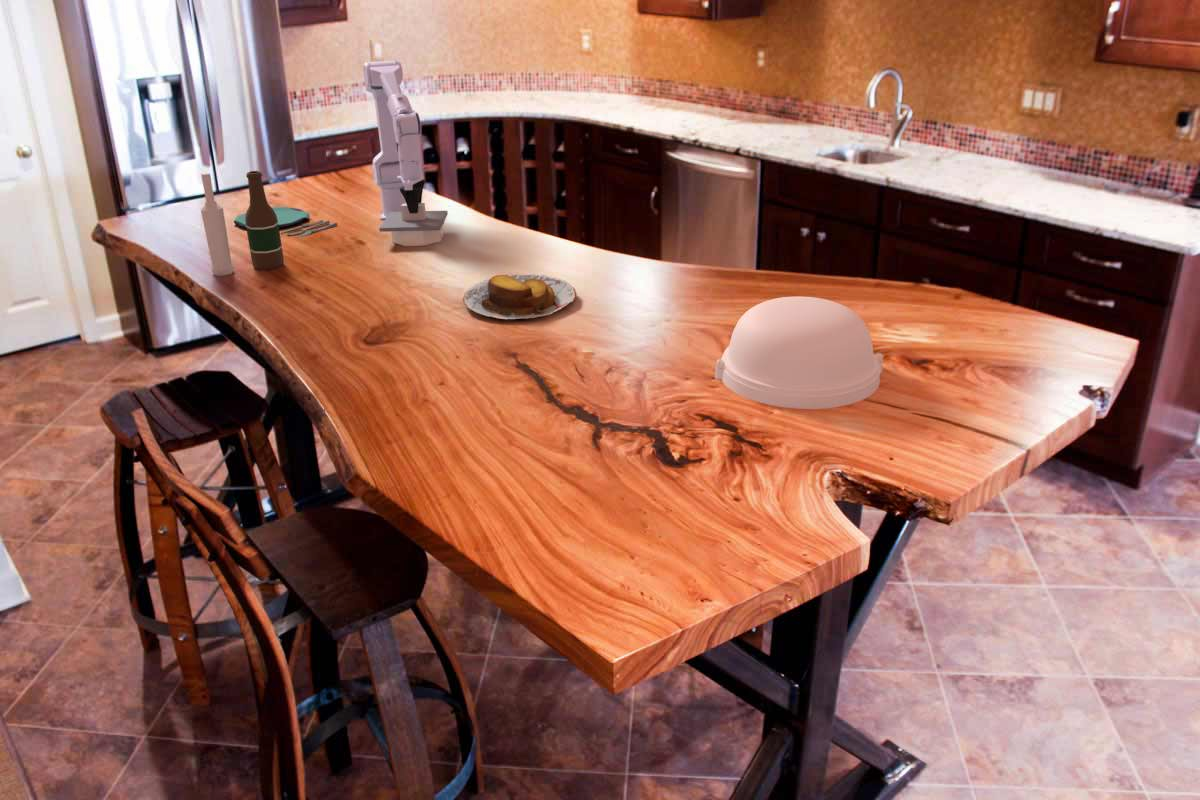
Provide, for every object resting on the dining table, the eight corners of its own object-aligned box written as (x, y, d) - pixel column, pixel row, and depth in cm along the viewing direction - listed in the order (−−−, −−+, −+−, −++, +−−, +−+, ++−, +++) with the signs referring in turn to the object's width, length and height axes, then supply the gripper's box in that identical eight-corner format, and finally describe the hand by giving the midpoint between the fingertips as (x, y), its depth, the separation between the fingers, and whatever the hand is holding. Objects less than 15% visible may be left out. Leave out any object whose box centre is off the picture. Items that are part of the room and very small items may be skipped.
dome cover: (860, 343, 215) (866, 277, 209) (906, 406, 188) (914, 333, 182) (704, 349, 214) (705, 283, 208) (727, 413, 187) (729, 340, 181)
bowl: (398, 232, 294) (396, 216, 292) (444, 231, 294) (443, 215, 292) (390, 246, 282) (388, 229, 280) (438, 245, 282) (437, 228, 280)
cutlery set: (279, 209, 319) (278, 202, 318) (344, 227, 303) (343, 219, 302) (222, 225, 305) (221, 218, 304) (287, 244, 289) (286, 236, 288)
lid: (390, 215, 293) (388, 197, 291) (447, 214, 293) (446, 196, 291) (379, 231, 279) (377, 213, 277) (440, 230, 279) (438, 211, 277)
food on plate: (593, 294, 245) (592, 267, 242) (545, 331, 225) (544, 302, 222) (497, 281, 255) (495, 255, 252) (443, 315, 234) (440, 287, 231)
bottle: (237, 269, 266) (220, 171, 256) (229, 276, 262) (211, 176, 251) (217, 269, 267) (199, 171, 256) (209, 276, 262) (190, 176, 252)
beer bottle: (252, 263, 271) (237, 170, 261) (283, 259, 273) (269, 167, 263) (253, 272, 264) (237, 176, 254) (285, 268, 267) (270, 174, 256)
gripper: (399, 154, 285) (404, 203, 291) (390, 166, 272) (395, 217, 278) (425, 153, 285) (430, 203, 291) (417, 165, 272) (422, 217, 278)
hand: (415, 210), depth 284 cm, fingers open, 5 cm apart
